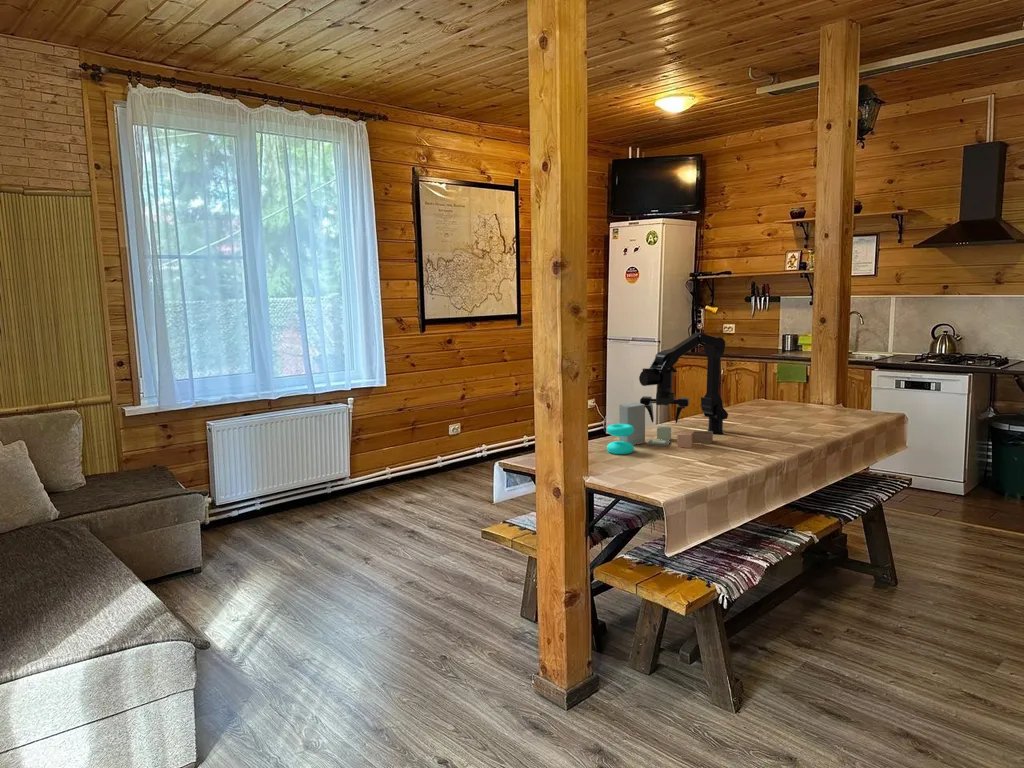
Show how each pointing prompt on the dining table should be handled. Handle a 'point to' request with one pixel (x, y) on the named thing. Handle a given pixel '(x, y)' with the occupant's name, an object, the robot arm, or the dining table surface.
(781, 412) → the dining table surface
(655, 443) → the card
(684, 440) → the terracotta cube
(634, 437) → the skincare box
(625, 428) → the donuts
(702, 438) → the walnut block
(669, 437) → the sage cube
